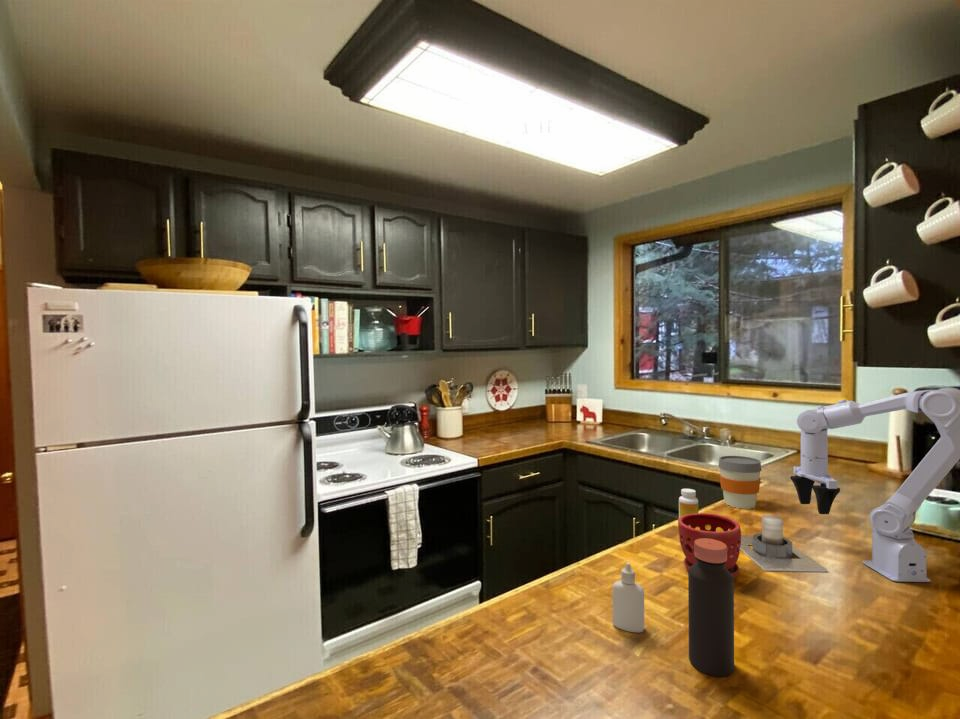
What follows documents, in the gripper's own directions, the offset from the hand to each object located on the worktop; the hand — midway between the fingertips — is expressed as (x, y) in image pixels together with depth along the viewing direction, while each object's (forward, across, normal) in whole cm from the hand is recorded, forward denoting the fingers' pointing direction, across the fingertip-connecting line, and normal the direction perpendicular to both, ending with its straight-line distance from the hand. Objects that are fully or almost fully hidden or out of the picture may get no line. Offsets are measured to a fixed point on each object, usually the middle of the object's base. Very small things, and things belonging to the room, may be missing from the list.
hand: (814, 508), depth 122 cm
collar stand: (+10, +3, -12) cm, 16 cm away
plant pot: (+11, +14, -32) cm, 37 cm away
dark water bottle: (+11, +47, -45) cm, 66 cm away
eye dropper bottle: (+11, +37, -56) cm, 68 cm away
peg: (+10, +3, -12) cm, 16 cm away
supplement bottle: (+11, -18, -25) cm, 33 cm away
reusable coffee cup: (+11, -35, -2) cm, 37 cm away
